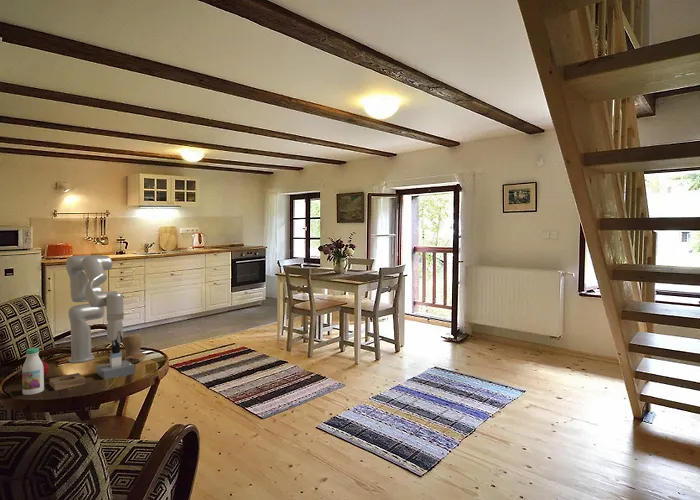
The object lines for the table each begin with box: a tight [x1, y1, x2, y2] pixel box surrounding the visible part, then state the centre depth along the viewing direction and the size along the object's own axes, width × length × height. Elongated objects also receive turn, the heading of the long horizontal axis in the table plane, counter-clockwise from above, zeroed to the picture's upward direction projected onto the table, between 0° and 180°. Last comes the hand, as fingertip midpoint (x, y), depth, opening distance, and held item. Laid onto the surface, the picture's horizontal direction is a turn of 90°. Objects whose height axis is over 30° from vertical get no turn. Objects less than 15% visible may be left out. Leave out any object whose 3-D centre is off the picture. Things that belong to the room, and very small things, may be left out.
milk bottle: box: [21, 347, 45, 396], centre depth 184 cm, size 8×8×20 cm
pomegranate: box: [40, 358, 50, 377], centre depth 207 cm, size 10×10×9 cm
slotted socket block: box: [48, 372, 87, 391], centre depth 194 cm, size 12×12×3 cm
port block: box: [96, 359, 136, 380], centre depth 210 cm, size 12×14×5 cm
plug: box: [109, 351, 123, 368], centre depth 209 cm, size 3×5×11 cm
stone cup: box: [121, 332, 147, 364], centre depth 233 cm, size 15×12×15 cm
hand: (116, 352), depth 209 cm, fingers closed
